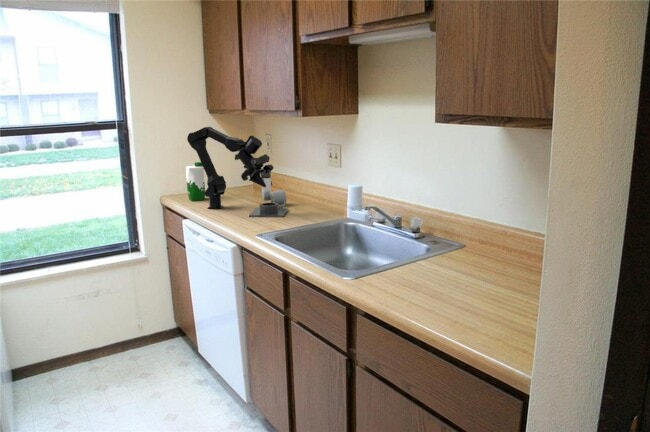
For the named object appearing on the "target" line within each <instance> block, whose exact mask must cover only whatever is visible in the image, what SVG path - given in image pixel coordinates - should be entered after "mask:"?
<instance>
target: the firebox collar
mask: <svg viewBox="0 0 650 432" xmlns="http://www.w3.org/2000/svg"><path fill="white" fill-rule="evenodd" d="M288 211H289V208H288V207H281V208H278V204H277V203H269V202H262V203H260V204H259V207H255V209H253V210H251V212H250V213H249V215H248V217H249V218H284V217H285V215H287V213H288Z"/></svg>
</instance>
